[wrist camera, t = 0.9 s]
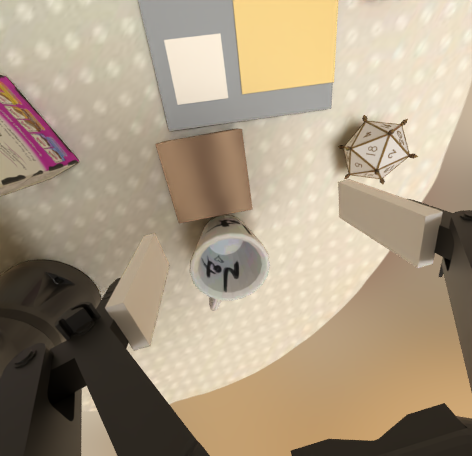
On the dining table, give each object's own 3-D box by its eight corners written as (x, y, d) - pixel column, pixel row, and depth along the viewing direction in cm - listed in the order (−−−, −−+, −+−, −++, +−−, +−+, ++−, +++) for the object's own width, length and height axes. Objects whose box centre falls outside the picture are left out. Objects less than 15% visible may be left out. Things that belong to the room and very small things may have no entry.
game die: (335, 138, 36) (360, 91, 27) (391, 144, 35) (439, 97, 25) (327, 189, 35) (349, 160, 26) (384, 197, 34) (431, 170, 24)
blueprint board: (170, 131, 30) (168, 131, 28) (131, -36, 23) (126, -46, 22) (326, 109, 31) (332, 108, 30) (334, -55, 24) (341, -66, 23)
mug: (263, 214, 36) (282, 242, 27) (237, 285, 42) (246, 328, 33) (201, 199, 34) (199, 225, 25) (182, 276, 40) (175, 320, 31)
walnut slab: (183, 208, 35) (178, 223, 29) (164, 141, 30) (155, 144, 25) (245, 196, 35) (252, 209, 30) (235, 128, 31) (241, 129, 25)
